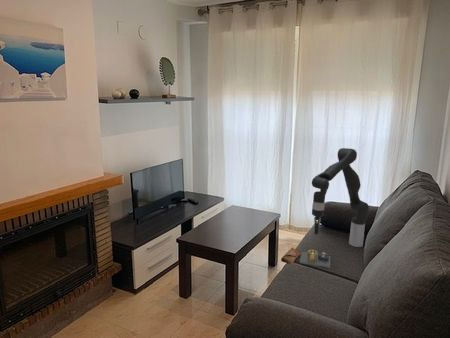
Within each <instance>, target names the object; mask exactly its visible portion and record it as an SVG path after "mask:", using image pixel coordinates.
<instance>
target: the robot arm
mask: <svg viewBox="0 0 450 338" xmlns="http://www.w3.org/2000/svg"><path fill="white" fill-rule="evenodd" d="M357 156H358V152H357V150H356V149H354V148H347V147H346V148H345V147H343V148H339V149H338V151H337V160H338V161H337V162H335V163H333V164H331V165H330V166H328V167H327V168H326V169H325V170H324V171H322V172H320V173H319V174H317V175H315V176H314V177H313V179H311V180H312V181H311V185H312V187H313V188H316V189H319V191H315V192H313V198H312V205H311V206H312V207H311V215H312V216H313V217H314V220H313V221H314V222H313V223H314V224H313V225H314V233H313V234H314V235H318V234H319V230H320V227H319V226H320V225H321V222H322V221H321V220H322V219H321V218H322V217H324V215H325V206H326V205H325V203H326V202H325V201H326V195H327V192H328V190H329V187H330V181H332V180H333V179H334V178H335V177H336V176H337V175H338V174H339V173H340V172H342V173H343V177H344V181H345V184H346V188H347V192H348V198H349V204H350V208H351V211H353V212H354V213H356V216H353V217H351V223H350V232H349V240H348V244H349V245H350V247H351V246H352V247H356V248H363V245H364V238H365V229H366V228H365V227H366V222H367V219H368V216H369V211H370V206H369V204H368V202H365V201H364V200H363V201H362V200H361V199H360V195H359V191H360V189H361V180H360V177H359V174H358V173H357V172H356V171H355V169H354V168H353V167H352V166H351V164H353V163H354V162H355V161H356V160H357Z"/></svg>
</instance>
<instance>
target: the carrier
mask: <svg viewBox="0 0 450 338" xmlns="http://www.w3.org/2000/svg"><path fill="white" fill-rule="evenodd" d="M300 253H301V256H300V257H299V264H302V265H303V264H304V265H309V266H310V265H311V266H316V267H322V268H327V269H331V255H330V254H329V253H327V252H325V251H320V252H318V253H317V261H310V260H308V259H307V257H308V251H301V252H300ZM311 253H314V252H311Z"/></svg>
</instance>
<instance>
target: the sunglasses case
mask: <svg viewBox="0 0 450 338" xmlns="http://www.w3.org/2000/svg"><path fill="white" fill-rule="evenodd" d="M300 257H301V252H299V250H297V249H296V248H294V247H291V248H290V249H289V250H288V251H287V252H285V254H284V255H283V256H282V257H281V260H280V261H281V263H286V264H288V265H292V266H293V265H294V263H295V262H296V261H297V260H298V259H300Z"/></svg>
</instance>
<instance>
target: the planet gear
mask: <svg viewBox="0 0 450 338" xmlns="http://www.w3.org/2000/svg"><path fill="white" fill-rule="evenodd" d="M307 252H308V257H307V259H308V260H310V261H317V254H318V253H319V251H317V250H315V249H309V250H307ZM311 252H314V253H311Z"/></svg>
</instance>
